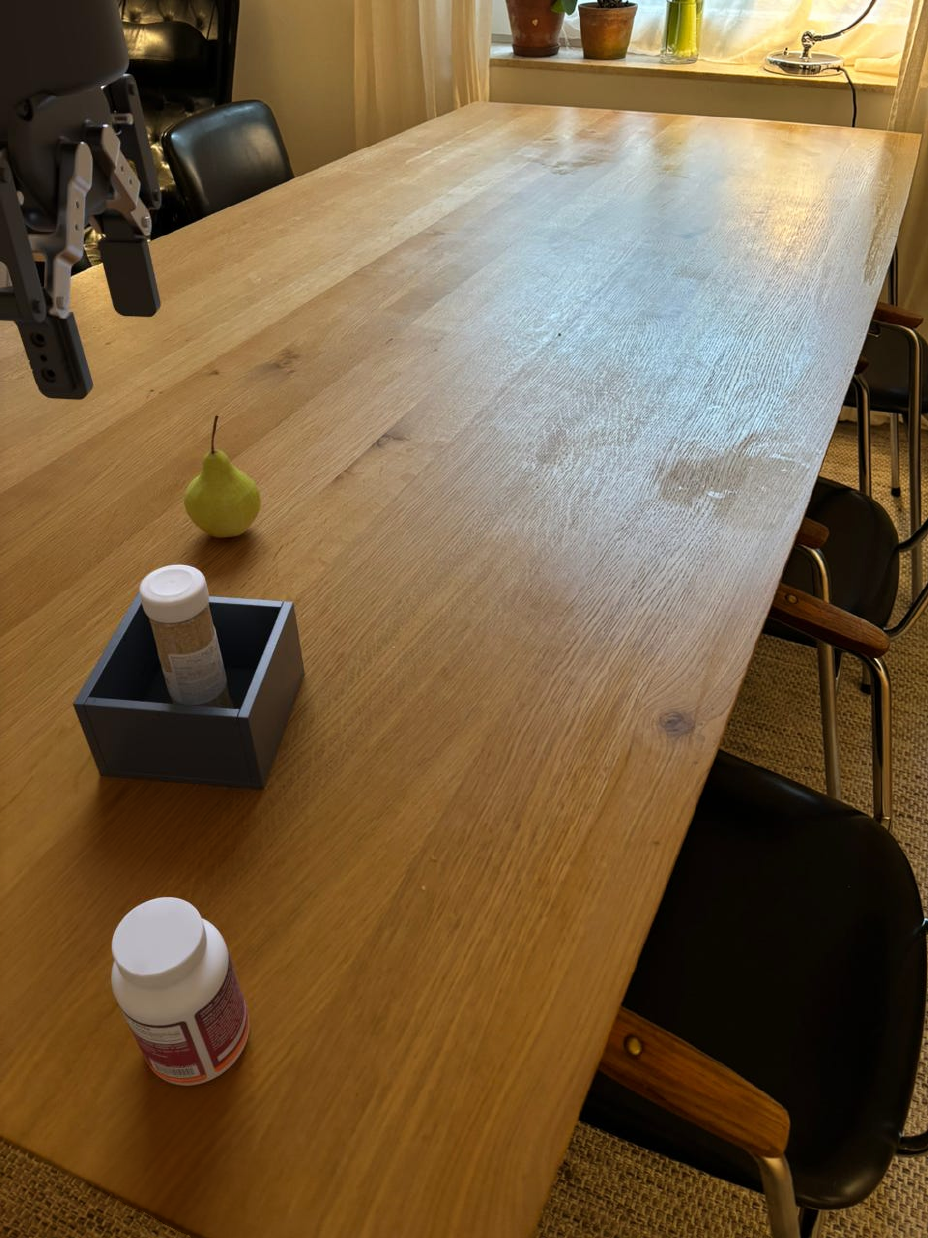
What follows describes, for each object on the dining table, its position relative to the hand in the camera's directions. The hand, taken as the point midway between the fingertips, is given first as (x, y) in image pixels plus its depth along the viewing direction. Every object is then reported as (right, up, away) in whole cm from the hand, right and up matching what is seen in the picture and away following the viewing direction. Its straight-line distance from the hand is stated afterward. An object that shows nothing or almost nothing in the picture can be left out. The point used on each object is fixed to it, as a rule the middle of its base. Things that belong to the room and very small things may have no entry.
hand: (106, 351), depth 47 cm
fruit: (-6, -4, +51) cm, 52 cm away
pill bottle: (+1, -37, +12) cm, 39 cm away
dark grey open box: (-3, -21, +31) cm, 38 cm away
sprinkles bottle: (-3, -20, +31) cm, 37 cm away
